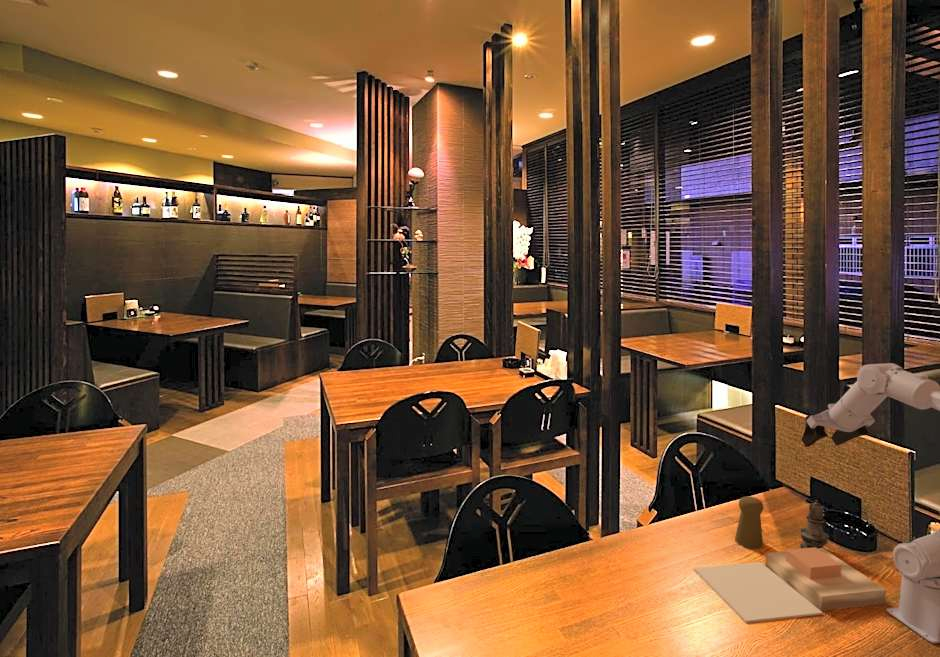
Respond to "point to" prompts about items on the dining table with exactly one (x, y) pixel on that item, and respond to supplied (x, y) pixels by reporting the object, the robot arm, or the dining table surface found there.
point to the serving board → (829, 585)
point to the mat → (756, 592)
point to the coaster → (813, 563)
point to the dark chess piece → (814, 528)
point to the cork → (750, 523)
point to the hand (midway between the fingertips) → (819, 442)
